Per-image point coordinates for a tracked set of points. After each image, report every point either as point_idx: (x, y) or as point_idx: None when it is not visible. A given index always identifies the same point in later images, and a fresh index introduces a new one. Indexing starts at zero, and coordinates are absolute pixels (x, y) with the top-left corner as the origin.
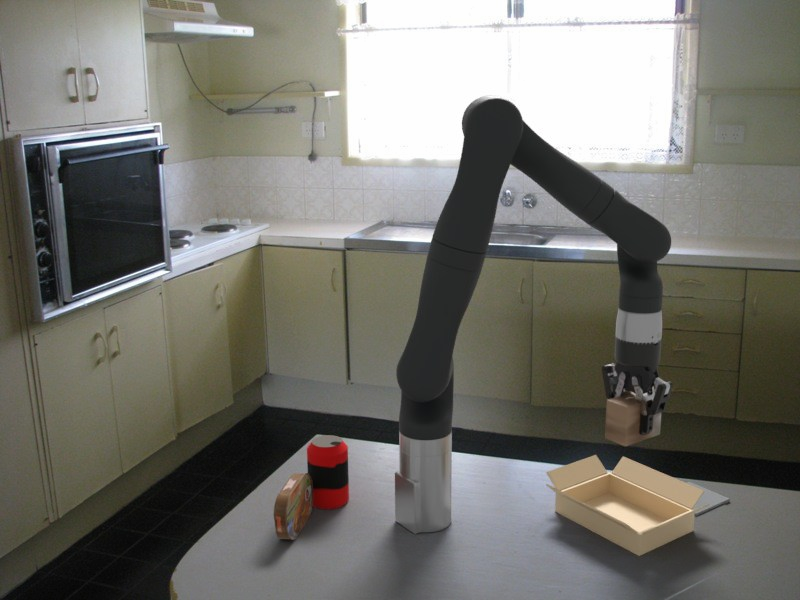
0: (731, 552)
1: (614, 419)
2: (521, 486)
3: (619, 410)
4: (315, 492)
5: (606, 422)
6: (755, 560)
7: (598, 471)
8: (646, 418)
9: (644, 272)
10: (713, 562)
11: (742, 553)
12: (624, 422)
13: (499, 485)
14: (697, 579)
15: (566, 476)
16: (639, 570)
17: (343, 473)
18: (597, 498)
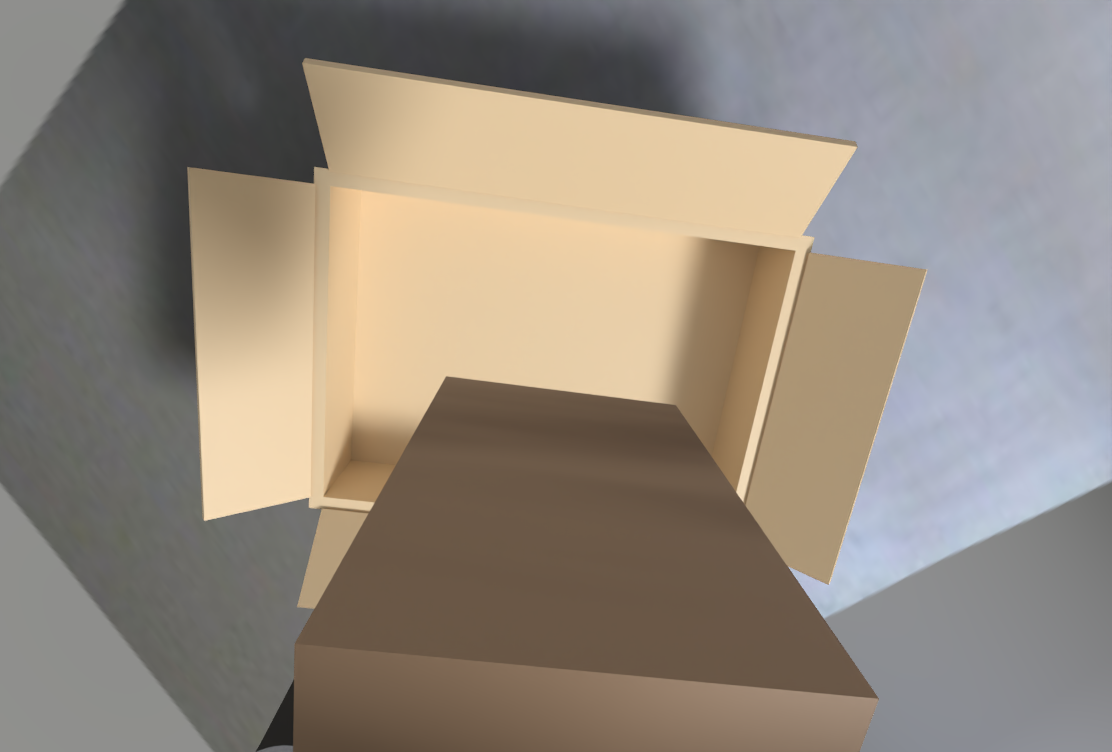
0: (176, 437)
1: (601, 491)
2: (991, 316)
3: (520, 579)
4: None
5: (711, 471)
6: (98, 446)
7: (762, 512)
8: (288, 732)
9: None
10: (167, 337)
11: (152, 456)
12: (429, 480)
13: (1072, 258)
14: (121, 192)
15: (838, 351)
16: (286, 85)
17: None
18: (707, 434)
